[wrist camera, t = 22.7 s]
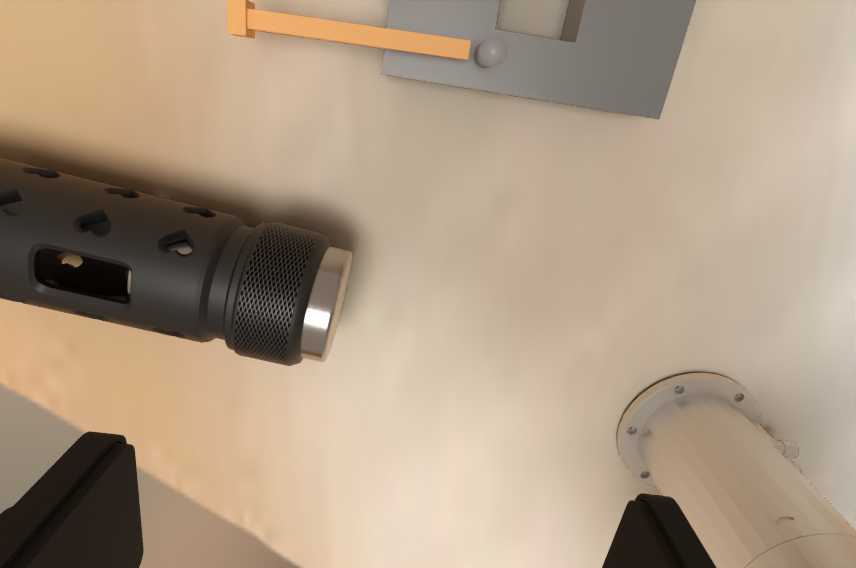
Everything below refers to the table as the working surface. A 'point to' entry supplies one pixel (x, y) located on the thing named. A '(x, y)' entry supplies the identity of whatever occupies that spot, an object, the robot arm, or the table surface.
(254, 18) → the orange peg
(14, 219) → the muzzle brake
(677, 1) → the plate
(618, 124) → the table surface
